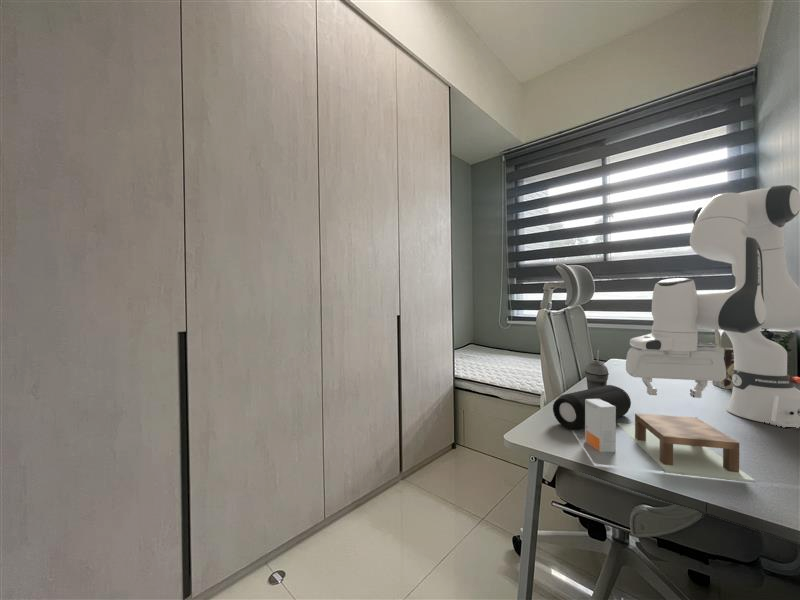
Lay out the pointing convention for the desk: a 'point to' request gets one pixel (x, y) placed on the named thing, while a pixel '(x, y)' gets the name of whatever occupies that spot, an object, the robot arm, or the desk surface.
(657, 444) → the mat
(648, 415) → the stool
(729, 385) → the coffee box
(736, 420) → the desk surface
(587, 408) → the skincare box
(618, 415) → the portable speaker
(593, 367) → the beverage cup
